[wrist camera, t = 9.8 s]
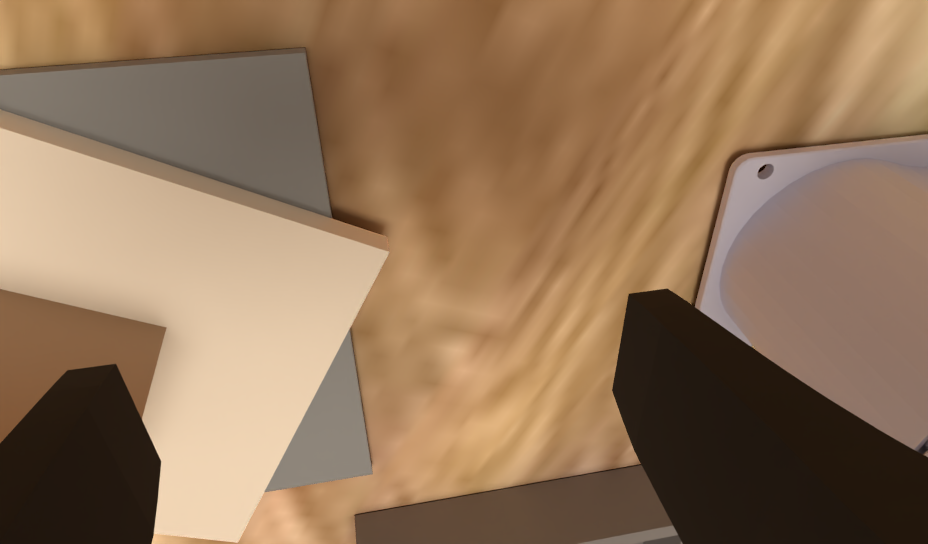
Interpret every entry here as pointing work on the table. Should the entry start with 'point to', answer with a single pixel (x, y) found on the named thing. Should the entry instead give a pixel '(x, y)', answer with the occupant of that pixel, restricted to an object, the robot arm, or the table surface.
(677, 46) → the table surface
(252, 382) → the lid
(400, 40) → the table surface
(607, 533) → the storage box
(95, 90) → the slate mat
